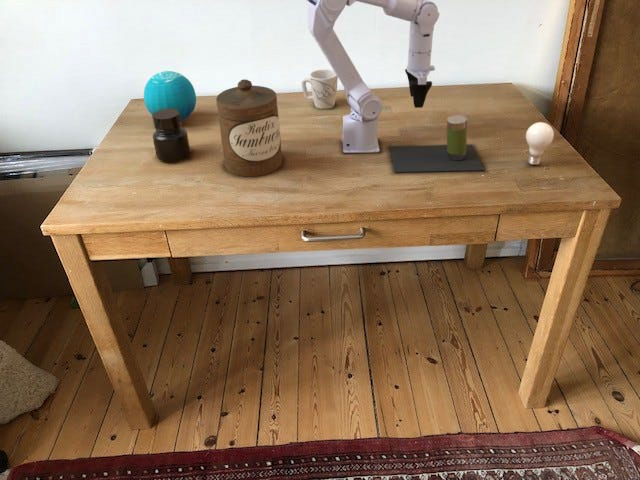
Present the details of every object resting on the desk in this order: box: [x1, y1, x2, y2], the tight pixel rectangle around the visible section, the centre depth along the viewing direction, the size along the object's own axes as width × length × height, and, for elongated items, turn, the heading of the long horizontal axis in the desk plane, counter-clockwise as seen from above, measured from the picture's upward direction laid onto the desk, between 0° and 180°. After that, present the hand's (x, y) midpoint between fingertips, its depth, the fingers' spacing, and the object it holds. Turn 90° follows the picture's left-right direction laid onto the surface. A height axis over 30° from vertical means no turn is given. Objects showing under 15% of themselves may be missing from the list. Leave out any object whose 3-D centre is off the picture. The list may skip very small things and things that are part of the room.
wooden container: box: [215, 78, 283, 177], centre depth 136 cm, size 15×15×22 cm
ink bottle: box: [151, 109, 192, 164], centre depth 143 cm, size 10×9×12 cm
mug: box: [301, 69, 339, 110], centre depth 170 cm, size 11×8×10 cm
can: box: [446, 114, 468, 160], centre depth 138 cm, size 5×5×10 cm
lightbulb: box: [525, 121, 555, 166], centre depth 134 cm, size 6×6×11 cm
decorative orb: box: [143, 70, 197, 123], centre depth 161 cm, size 15×15×15 cm
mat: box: [389, 144, 485, 174], centre depth 141 cm, size 22×14×1 cm, turn 90°
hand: (416, 101), depth 146 cm, fingers open, 7 cm apart
